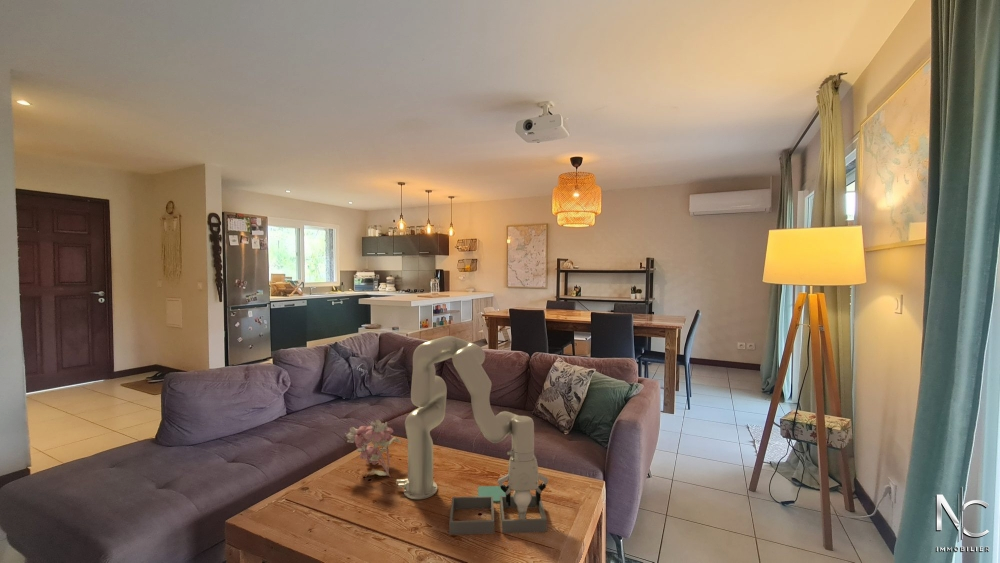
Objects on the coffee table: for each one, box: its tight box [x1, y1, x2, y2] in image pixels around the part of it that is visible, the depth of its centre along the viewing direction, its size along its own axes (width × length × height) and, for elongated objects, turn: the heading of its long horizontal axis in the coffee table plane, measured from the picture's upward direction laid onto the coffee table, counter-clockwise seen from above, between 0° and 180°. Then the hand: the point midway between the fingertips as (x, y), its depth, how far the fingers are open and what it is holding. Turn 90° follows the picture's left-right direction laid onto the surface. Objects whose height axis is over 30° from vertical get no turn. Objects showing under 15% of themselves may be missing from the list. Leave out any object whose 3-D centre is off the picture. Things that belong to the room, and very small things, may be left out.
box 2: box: [499, 494, 548, 534], centre depth 141 cm, size 14×14×4 cm
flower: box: [344, 419, 403, 478], centre depth 173 cm, size 20×22×25 cm
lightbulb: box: [512, 490, 533, 519], centre depth 140 cm, size 6×6×11 cm
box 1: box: [448, 496, 495, 536], centre depth 140 cm, size 14×14×4 cm
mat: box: [477, 485, 506, 504], centre depth 155 cm, size 12×10×1 cm
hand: (523, 503), depth 140 cm, fingers open, 9 cm apart
